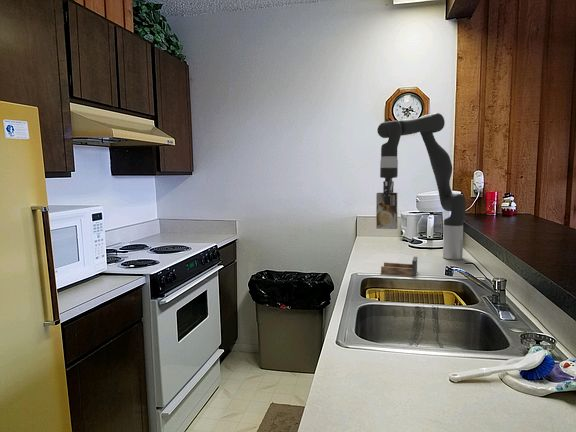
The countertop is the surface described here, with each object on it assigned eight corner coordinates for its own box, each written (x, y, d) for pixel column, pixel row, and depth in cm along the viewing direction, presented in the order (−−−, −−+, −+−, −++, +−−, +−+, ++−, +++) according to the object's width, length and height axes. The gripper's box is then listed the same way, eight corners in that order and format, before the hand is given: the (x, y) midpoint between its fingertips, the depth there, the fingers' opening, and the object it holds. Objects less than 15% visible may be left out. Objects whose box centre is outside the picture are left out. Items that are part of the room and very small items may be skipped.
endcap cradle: (417, 271, 180) (417, 256, 179) (415, 276, 171) (415, 261, 171) (384, 269, 185) (384, 254, 185) (381, 273, 177) (381, 258, 176)
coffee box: (397, 227, 183) (398, 192, 182) (396, 229, 177) (397, 192, 176) (377, 227, 186) (377, 192, 185) (375, 228, 180) (376, 192, 179)
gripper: (395, 166, 171) (394, 205, 172) (399, 167, 184) (399, 203, 186) (377, 166, 174) (376, 205, 175) (383, 167, 187) (382, 203, 189)
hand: (388, 204), depth 180 cm, fingers closed on coffee box, 6 cm apart
